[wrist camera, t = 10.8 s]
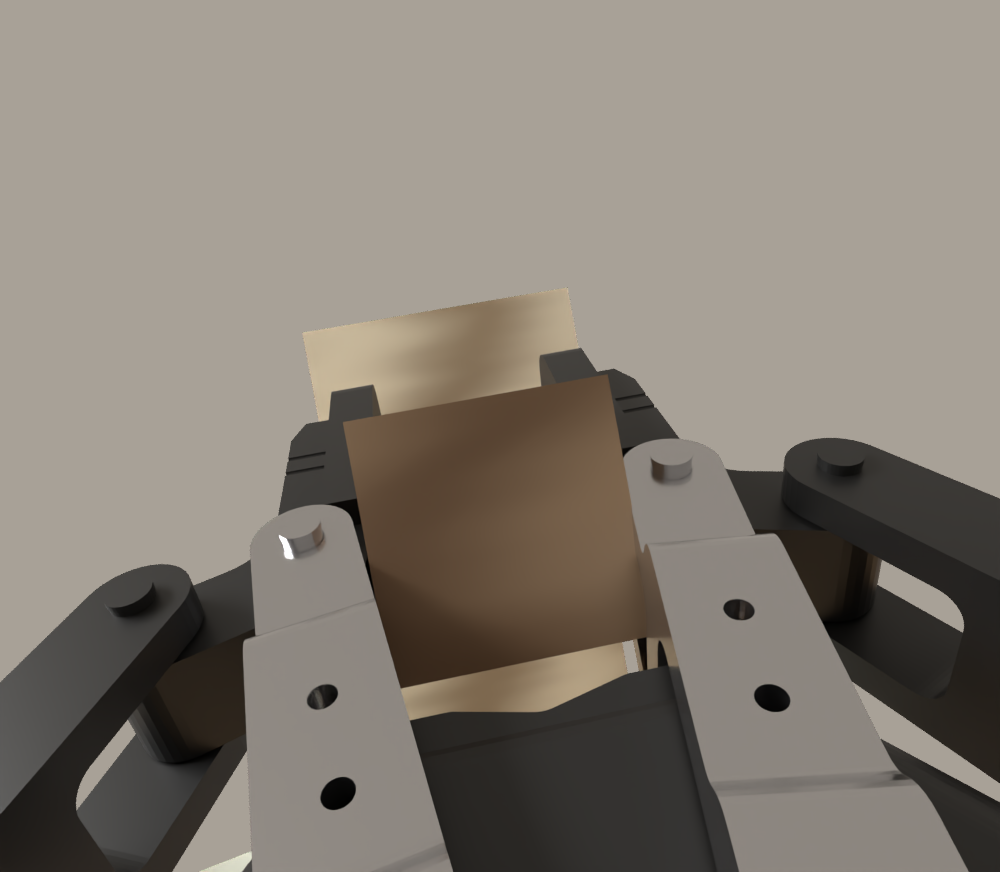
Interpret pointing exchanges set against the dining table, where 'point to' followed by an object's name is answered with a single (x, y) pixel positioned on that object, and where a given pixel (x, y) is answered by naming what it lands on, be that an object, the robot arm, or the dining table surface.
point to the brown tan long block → (485, 487)
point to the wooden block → (519, 684)
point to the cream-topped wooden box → (232, 864)
